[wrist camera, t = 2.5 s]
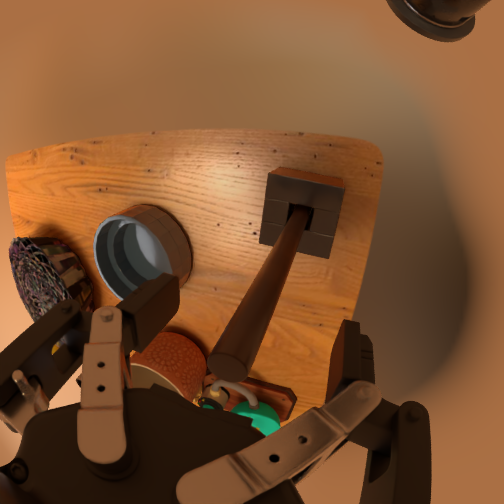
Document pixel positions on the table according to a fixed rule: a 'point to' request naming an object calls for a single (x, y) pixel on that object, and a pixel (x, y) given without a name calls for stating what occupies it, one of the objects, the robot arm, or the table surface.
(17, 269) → the decorative bowl
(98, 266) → the bowl
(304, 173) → the holder
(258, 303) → the stirring stick
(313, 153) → the table surface
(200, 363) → the planter
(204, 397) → the contraption on wooden base
